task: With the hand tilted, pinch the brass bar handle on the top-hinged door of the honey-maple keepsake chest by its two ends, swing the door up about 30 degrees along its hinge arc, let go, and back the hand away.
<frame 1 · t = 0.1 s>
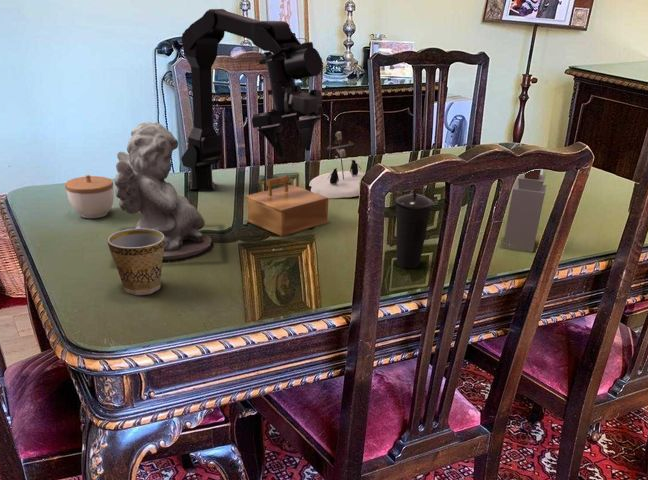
hand: (295, 153, 150), 15 cm above the table, tool pointing down, fingers open, 9 cm apart
lid: (286, 190, 151), point 8 cm above the table, hinge at 0.0°
ceramic cup: (142, 285, 122), on the table
drinking cup: (407, 264, 135), on the table
figurine: (343, 189, 180), on the table
perfume bottle: (518, 245, 147), on the table
trinket box: (94, 214, 155), on the table
angel statue: (172, 245, 140), on the table
chest: (288, 222, 154), on the table
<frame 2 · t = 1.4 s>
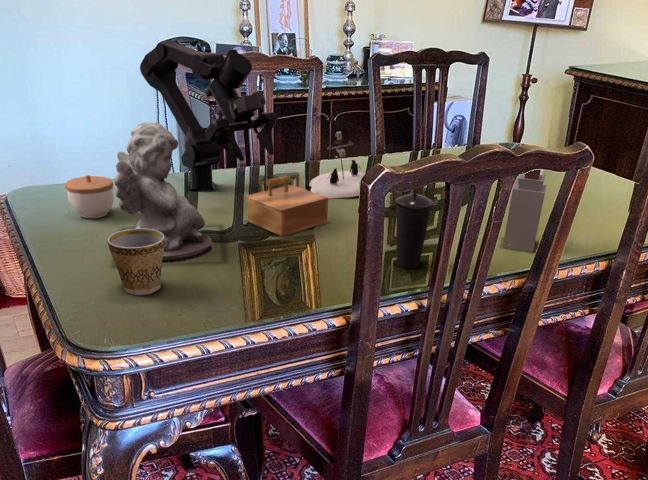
hand: (258, 157, 154), 13 cm above the table, tool tilted 45°, fingers open, 9 cm apart
nothing on the table moved.
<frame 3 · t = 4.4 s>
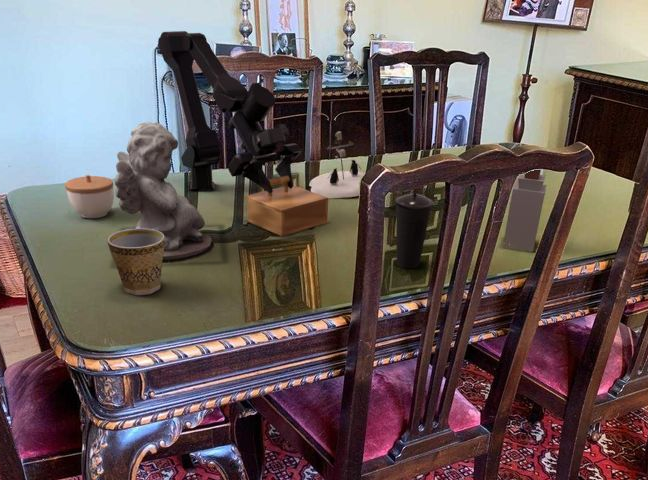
hand: (281, 190, 152), 7 cm above the table, tool tilted 45°, fingers closed on lid, 6 cm apart
lid: (286, 190, 151), point 8 cm above the table, hinge at 0.0°, touching gripper
everything else where it was.
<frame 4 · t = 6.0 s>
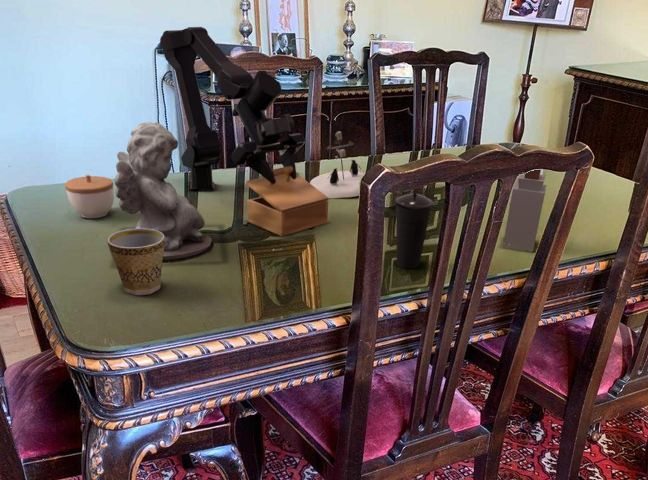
hand: (285, 180, 150), 10 cm above the table, tool tilted 40°, fingers closed on lid, 6 cm apart
lid: (288, 183, 149), point 10 cm above the table, hinge at 16.0°, touching gripper
everything else where it was.
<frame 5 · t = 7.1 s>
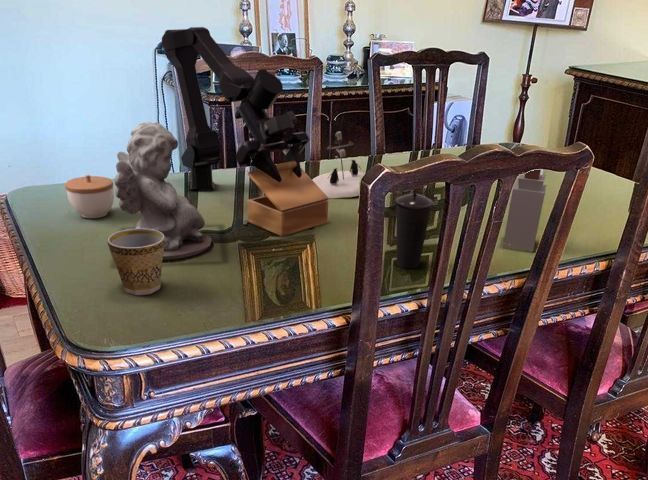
hand: (290, 178, 148), 11 cm above the table, tool tilted 45°, fingers closed on lid, 6 cm apart
lid: (291, 180, 148), point 11 cm above the table, hinge at 26.6°, touching gripper
everything else where it was.
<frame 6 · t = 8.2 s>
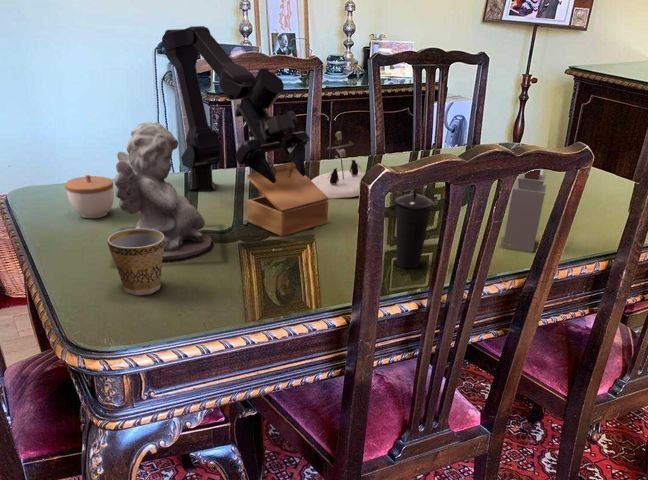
hand: (290, 178, 149), 11 cm above the table, tool tilted 45°, fingers open, 9 cm apart
lid: (290, 181, 149), point 10 cm above the table, hinge at 23.1°
everything else where it was.
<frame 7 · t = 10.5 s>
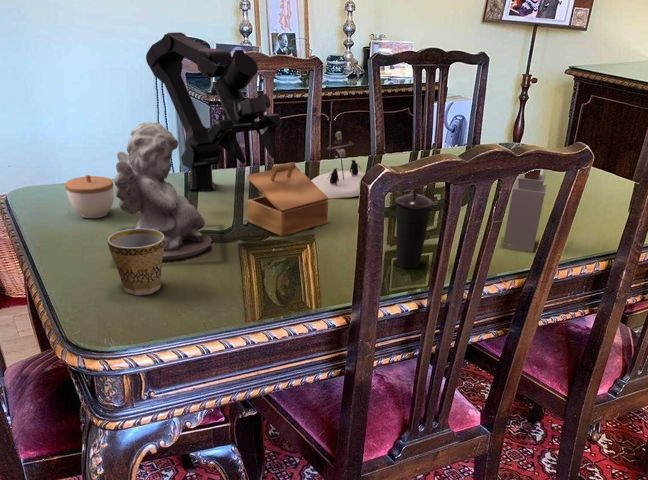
hand: (259, 160, 153), 13 cm above the table, tool tilted 40°, fingers open, 9 cm apart
nothing on the table moved.
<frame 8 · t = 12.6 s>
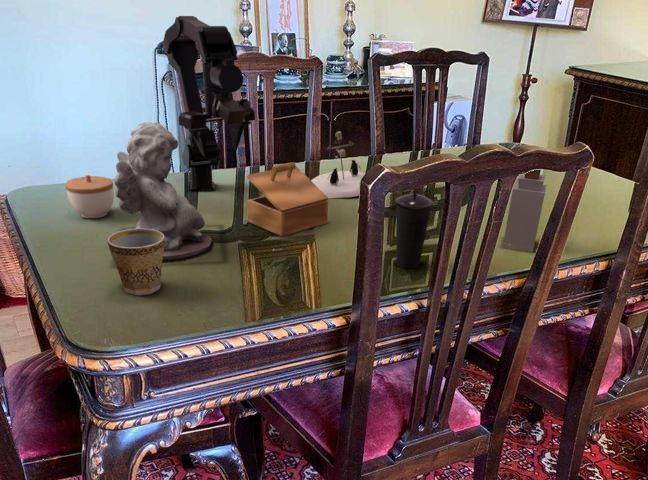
hand: (220, 153, 158), 13 cm above the table, tool pointing down, fingers open, 9 cm apart
nothing on the table moved.
at the end: lid at +23° (first picture: +0°); the gripper is holding nothing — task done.
